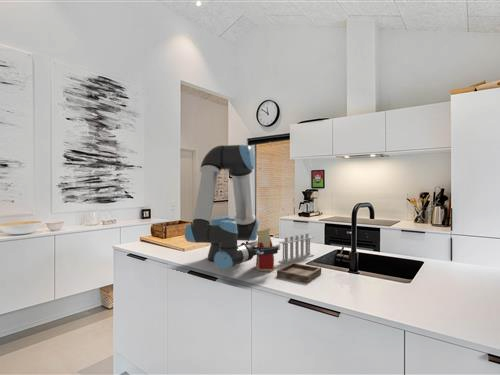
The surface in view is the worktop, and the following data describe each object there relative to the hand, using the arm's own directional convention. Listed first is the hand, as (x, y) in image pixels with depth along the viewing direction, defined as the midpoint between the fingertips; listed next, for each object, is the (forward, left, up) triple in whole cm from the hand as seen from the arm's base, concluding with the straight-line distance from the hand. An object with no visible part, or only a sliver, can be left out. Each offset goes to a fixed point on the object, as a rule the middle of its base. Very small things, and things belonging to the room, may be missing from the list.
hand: (267, 244), depth 148 cm
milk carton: (0, -3, -11) cm, 12 cm away
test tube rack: (+6, +21, -11) cm, 25 cm away
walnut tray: (+19, -3, -11) cm, 22 cm away
